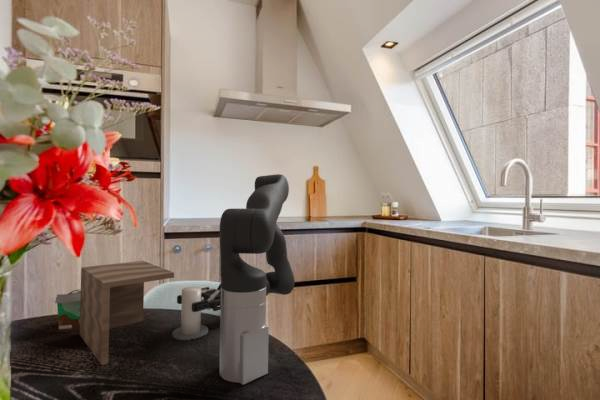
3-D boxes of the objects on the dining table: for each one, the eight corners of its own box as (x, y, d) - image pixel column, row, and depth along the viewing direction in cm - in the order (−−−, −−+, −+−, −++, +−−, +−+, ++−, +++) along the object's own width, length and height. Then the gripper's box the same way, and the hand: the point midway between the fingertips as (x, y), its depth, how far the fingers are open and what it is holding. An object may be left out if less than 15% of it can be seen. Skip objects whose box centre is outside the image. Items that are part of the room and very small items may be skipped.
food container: (77, 334, 81) (78, 295, 81) (54, 334, 81) (55, 295, 81) (108, 317, 94) (108, 283, 94) (87, 317, 94) (88, 283, 94)
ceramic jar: (203, 331, 83) (204, 289, 83) (186, 336, 80) (187, 292, 80) (195, 325, 87) (195, 285, 87) (177, 330, 83) (178, 288, 83)
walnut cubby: (172, 343, 77) (174, 272, 77) (101, 365, 66) (103, 282, 66) (141, 319, 92) (142, 260, 92) (79, 334, 81) (81, 267, 81)
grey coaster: (214, 333, 83) (214, 331, 83) (181, 343, 77) (181, 341, 77) (198, 323, 90) (198, 321, 90) (166, 332, 83) (166, 330, 83)
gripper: (224, 275, 99) (173, 284, 87) (252, 283, 89) (198, 295, 77) (224, 299, 99) (172, 311, 87) (251, 310, 89) (197, 326, 77)
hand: (184, 303), depth 82 cm, fingers open, 8 cm apart
